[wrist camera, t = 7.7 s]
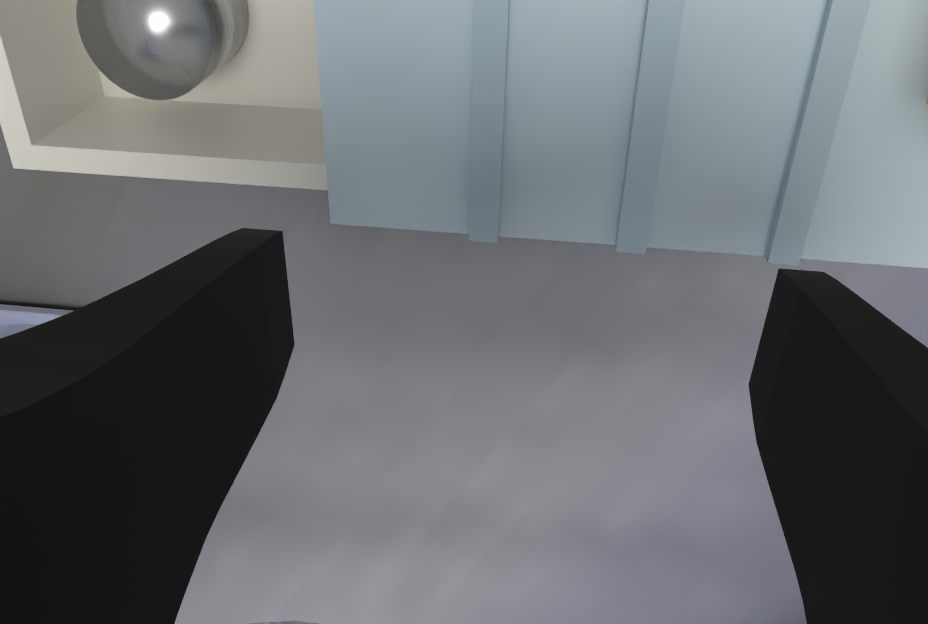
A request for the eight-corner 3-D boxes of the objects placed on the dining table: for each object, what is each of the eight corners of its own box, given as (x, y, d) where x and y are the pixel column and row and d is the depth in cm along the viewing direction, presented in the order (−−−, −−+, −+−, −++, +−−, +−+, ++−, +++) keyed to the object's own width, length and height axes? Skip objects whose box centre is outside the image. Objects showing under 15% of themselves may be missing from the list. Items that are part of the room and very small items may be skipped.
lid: (1015, 256, 17) (1127, 385, 13) (339, 207, 18) (279, 312, 15) (1270, -338, 12) (1566, -386, 8) (300, -345, 13) (193, -388, 10)
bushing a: (260, 67, 21) (224, 98, 19) (146, 71, 21) (100, 102, 19) (234, -64, 19) (192, -46, 17) (112, -57, 19) (57, -39, 17)
